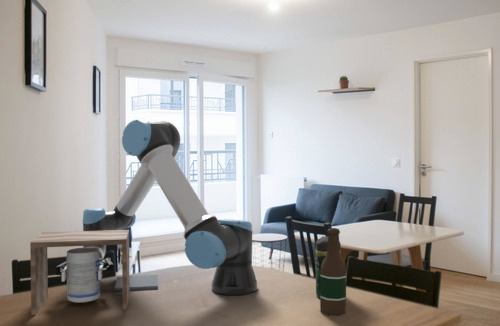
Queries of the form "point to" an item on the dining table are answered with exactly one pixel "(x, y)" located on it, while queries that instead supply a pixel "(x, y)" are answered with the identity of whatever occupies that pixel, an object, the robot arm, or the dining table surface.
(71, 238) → the shelf
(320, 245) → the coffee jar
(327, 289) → the beer bottle
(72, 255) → the supplement tub
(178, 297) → the dining table surface
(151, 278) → the mat
